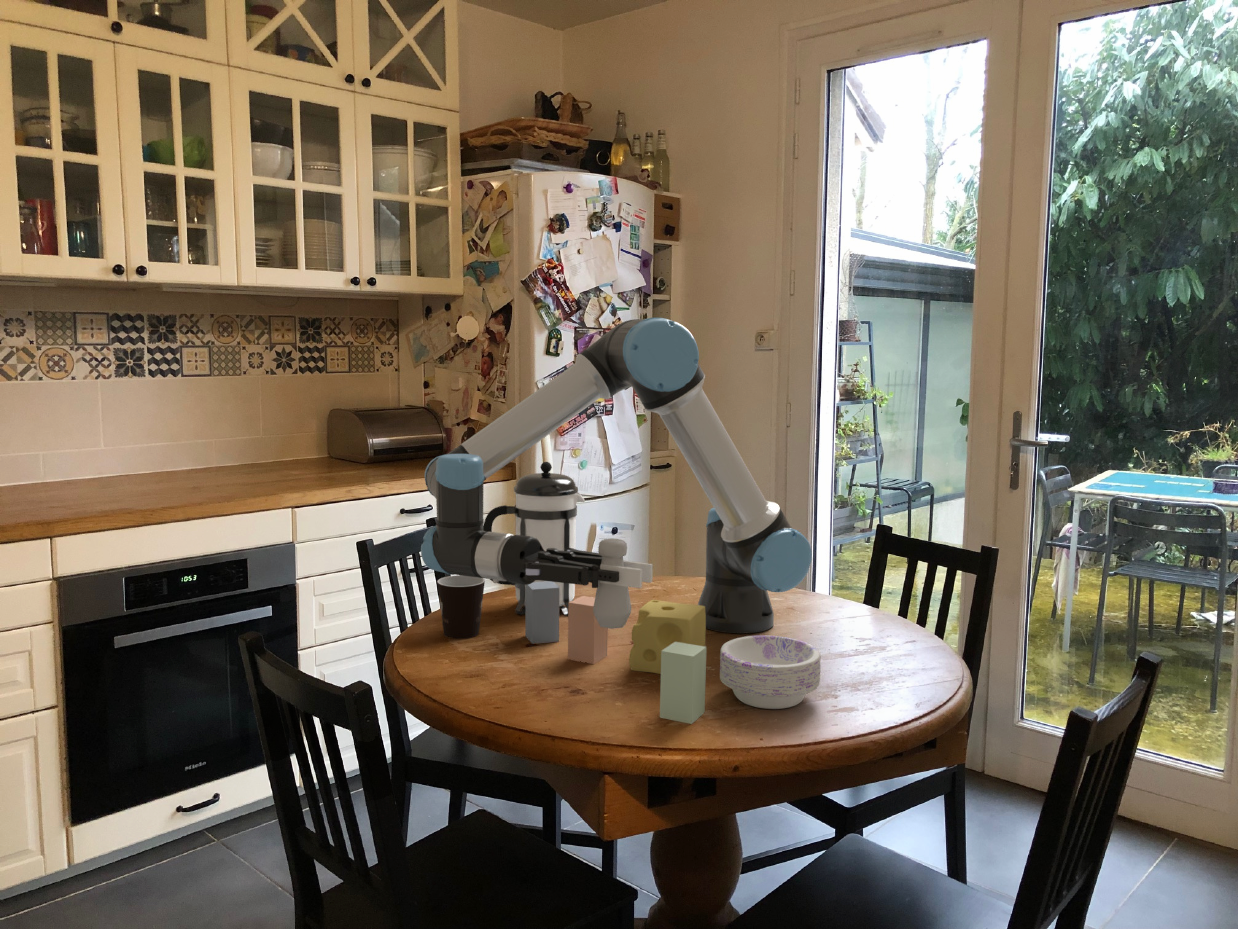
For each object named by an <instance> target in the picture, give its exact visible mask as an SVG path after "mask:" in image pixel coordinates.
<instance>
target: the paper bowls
mask: <svg viewBox="0 0 1238 929" xmlns="http://www.w3.org/2000/svg"><path fill="white" fill-rule="evenodd" d="M719 650H720V654H719V658H720V659H719V660H720V661H719V663H720V665H719V666H720V667H719V680H720V681H721V683H722V684H723V685H725V686H726V687H728V688H729V689H732V692H733V694H734V696H735V697H736V698H737V700H739V701H741V702H742V703H743V704H746V705H748V706H751V707H755V708H759V709H768V710H780V709H781V710H782V709H788V708H792V707H794V706H797V705H799V704H800V703H802V701H803V700H804V699H805V697H806V695H807V694H810V693H811V692H814V691H815V690H816V689H818V687H819V685H820V682H821V659H822V656H821V652H820V650H819V649H818V648H817V647H816V646H815V645H812V644H811V643H809V642H806V641H804V640H801V639H796V638H793V637H786V636H779V635H769V634H767V635H765V634H764V635H763V634H762V635H761V634H759V635H746V636H741V637H737V638H733V639H730V640H729V641H727V642H725V643H723V645H722V646H721V648H720V649H719Z"/></svg>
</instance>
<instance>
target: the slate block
mask: <svg viewBox="0 0 1238 929" xmlns="http://www.w3.org/2000/svg"><path fill="white" fill-rule="evenodd" d="M525 606H526V612H525V624H524V626H525V632H524V633H525V634H524V635H525V637H526V638H527V640H528V641H529V642H530V643H531V644H533V645H534V643H537V644H546V643H547V644H548V643H557V642H560V608H559V587H558V586H557V585H556V584H555V583H554V582H551V581H546V582H533V583H531V584H528V585H526V605H525Z"/></svg>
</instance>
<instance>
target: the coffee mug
mask: <svg viewBox="0 0 1238 929" xmlns="http://www.w3.org/2000/svg"><path fill="white" fill-rule="evenodd" d="M436 582H437V591H438V596H439V606H440V613H441V622H442V630H443V635H444V636H445V638H450V639H455V640H463V639H464V640H465V639H471V638H475V637H477V636H478V635H479V634H480V626H481V618H482V609H483V599H484V591H485V582H486V578H479V577H471V576H462V575H450V576H444V577H441V578H439V579H437V581H436Z"/></svg>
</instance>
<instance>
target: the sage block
mask: <svg viewBox="0 0 1238 929" xmlns="http://www.w3.org/2000/svg"><path fill="white" fill-rule="evenodd" d="M706 670H707V646H705V647H704V646H698V645H692V644H686V643H680V642H674V643H672V644H671V645H669V646H668V647H666V648H665V649H663V650H662V651H661V674H660V690H659V691H660V694H659V718H661V719H666V720H671V721H674V722H679V723H684V724H690V725H692V724H694V723H695V722H696V721H697V720H698V719H699V718H700V717H702V715H703V714H705V710H706V709H705V708H706V707H705V706H706V681H707V680H706V674H707V671H706Z"/></svg>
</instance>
